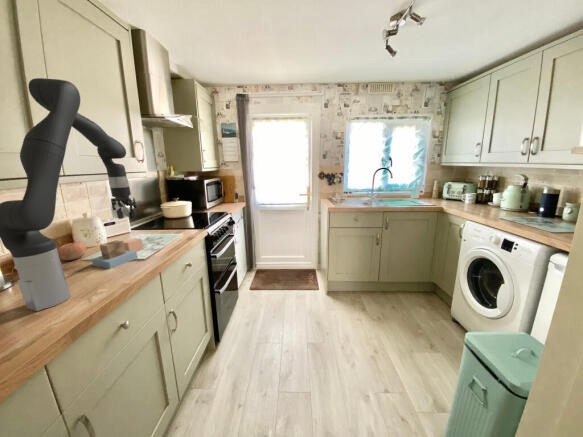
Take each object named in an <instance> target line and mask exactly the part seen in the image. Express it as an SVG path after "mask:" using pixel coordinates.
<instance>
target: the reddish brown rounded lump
mask: <svg viewBox="0 0 583 437" xmlns="http://www.w3.org/2000/svg"><path fill="white" fill-rule="evenodd" d="M57 251H58V255H59V258H60V260H63V261H74V260H77V259H80V258H82V257H83V256H84V255H85V254H86V253H87V246H86V245H85V244H84V243H81V242H71V243H70V242H69V243H66V244H63V245H60V246H59V247H58V248H57Z"/></svg>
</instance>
